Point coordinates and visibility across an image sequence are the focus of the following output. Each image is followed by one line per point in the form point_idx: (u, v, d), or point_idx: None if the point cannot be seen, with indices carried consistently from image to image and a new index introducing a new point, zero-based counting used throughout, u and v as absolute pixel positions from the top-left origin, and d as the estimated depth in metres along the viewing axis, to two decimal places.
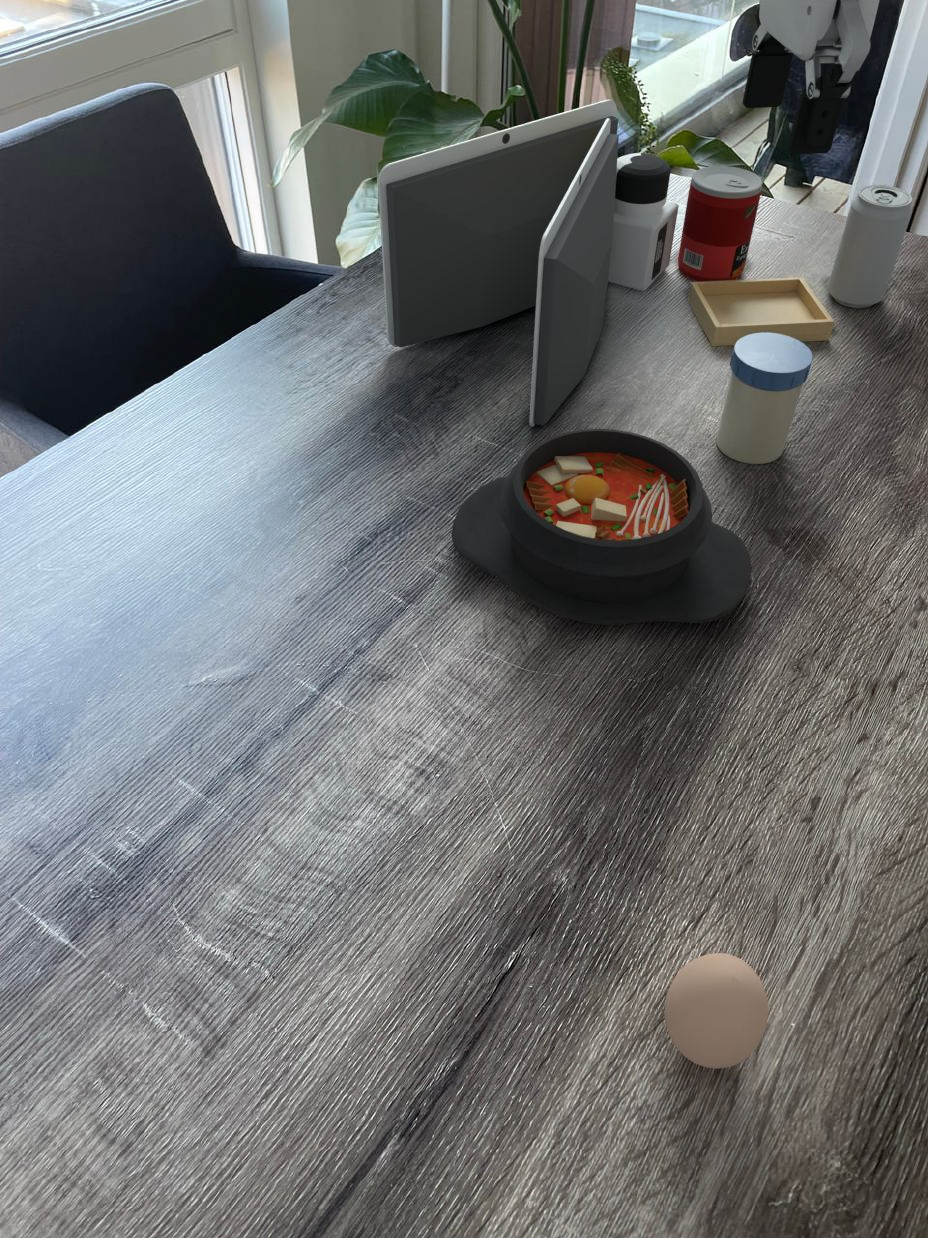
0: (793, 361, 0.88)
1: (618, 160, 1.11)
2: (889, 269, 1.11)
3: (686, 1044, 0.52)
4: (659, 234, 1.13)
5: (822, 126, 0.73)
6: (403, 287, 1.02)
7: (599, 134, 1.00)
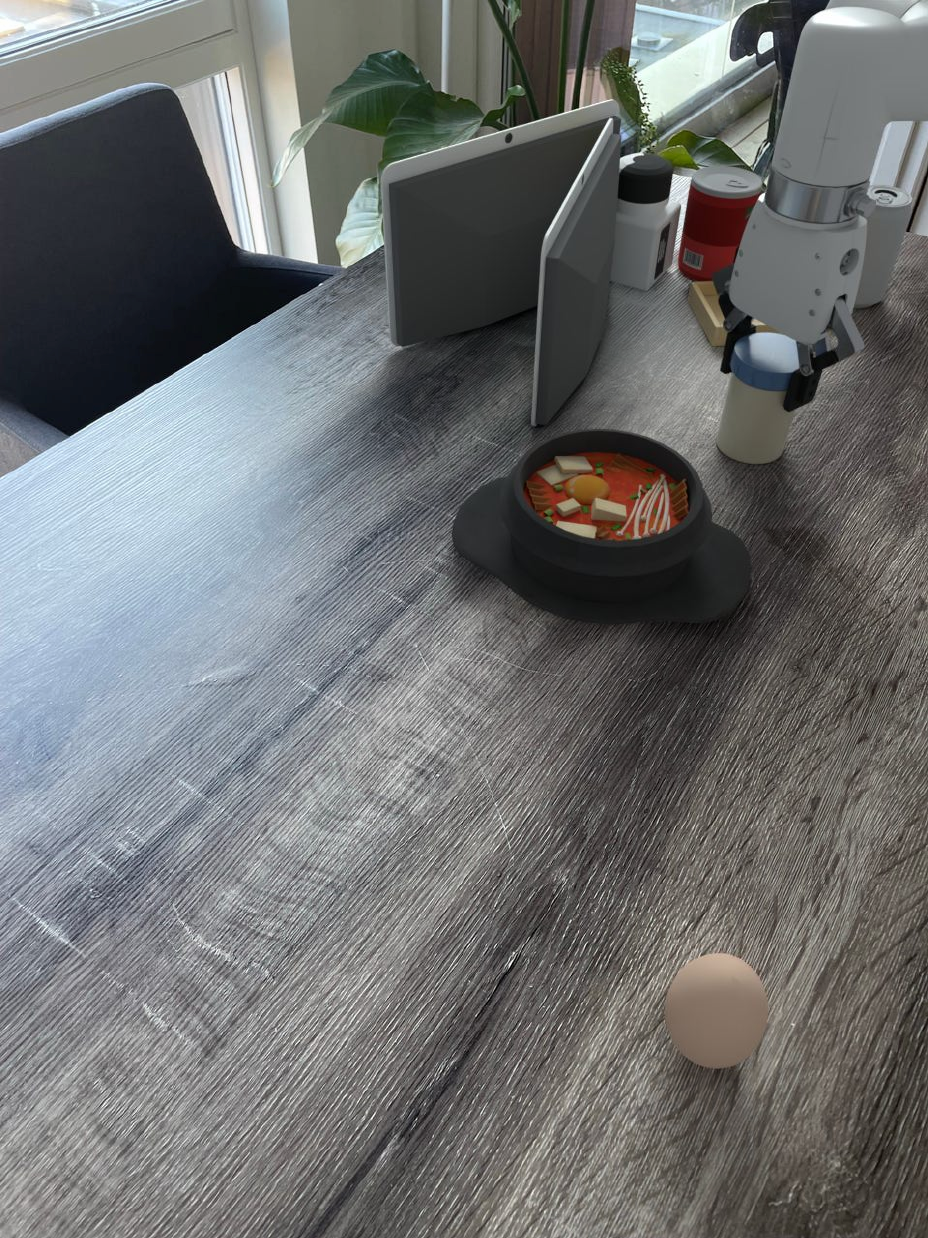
0: (793, 361, 0.88)
1: (621, 160, 1.11)
2: (889, 269, 1.11)
3: (686, 1044, 0.52)
4: (662, 234, 1.13)
5: (811, 390, 0.87)
6: (405, 286, 1.02)
7: (602, 134, 1.00)
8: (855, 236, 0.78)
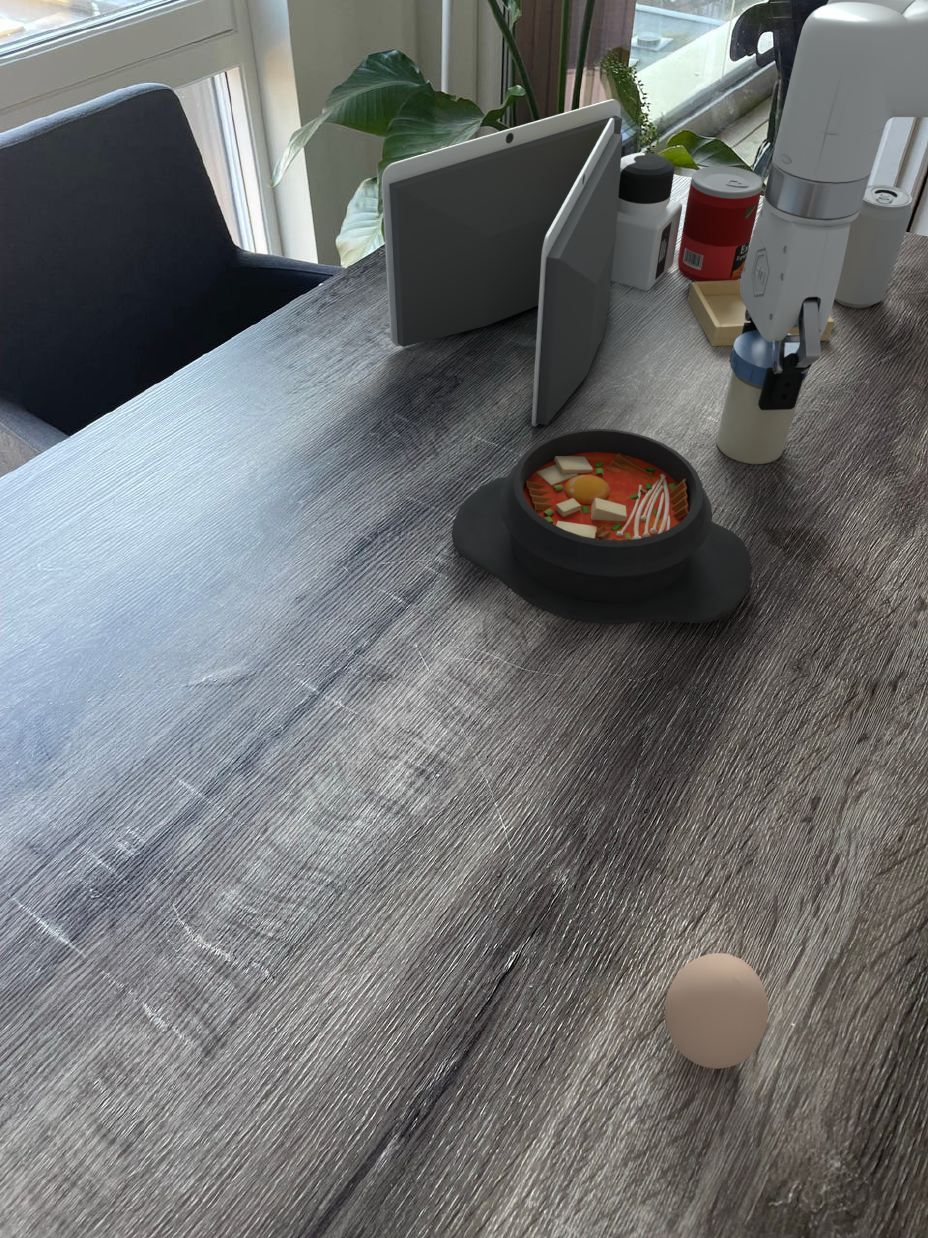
0: None
1: (622, 160, 1.11)
2: (889, 269, 1.11)
3: (686, 1044, 0.52)
4: (663, 233, 1.13)
5: None
6: (406, 286, 1.02)
7: (603, 134, 1.00)
8: None
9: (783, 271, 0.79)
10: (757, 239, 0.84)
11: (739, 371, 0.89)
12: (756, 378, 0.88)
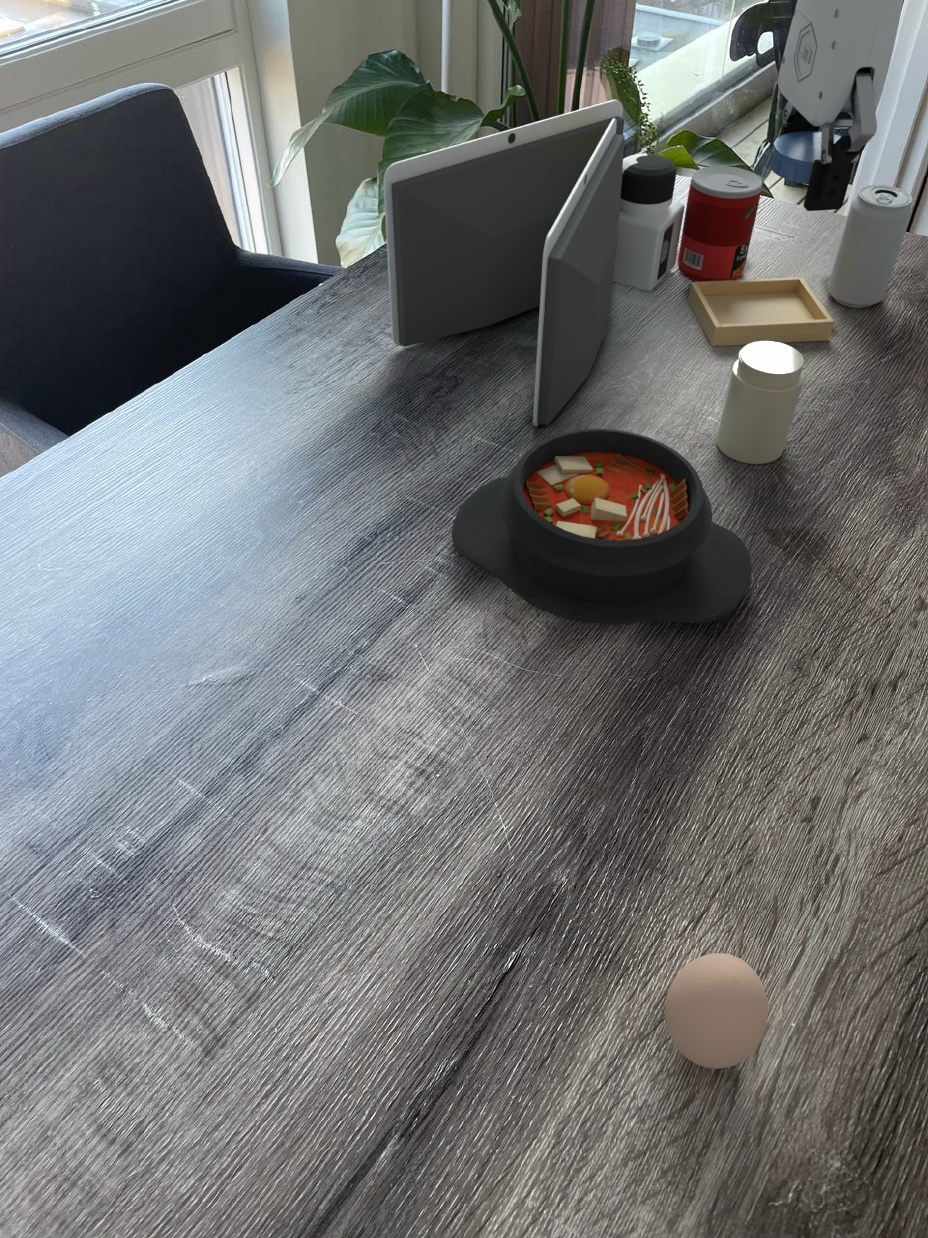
0: (804, 137, 0.85)
1: (624, 160, 1.11)
2: (889, 269, 1.11)
3: (686, 1044, 0.52)
4: (665, 234, 1.13)
5: None
6: (408, 286, 1.02)
7: (605, 134, 1.00)
8: None
9: (835, 38, 0.74)
10: (799, 19, 0.79)
11: (782, 171, 0.83)
12: (801, 175, 0.82)
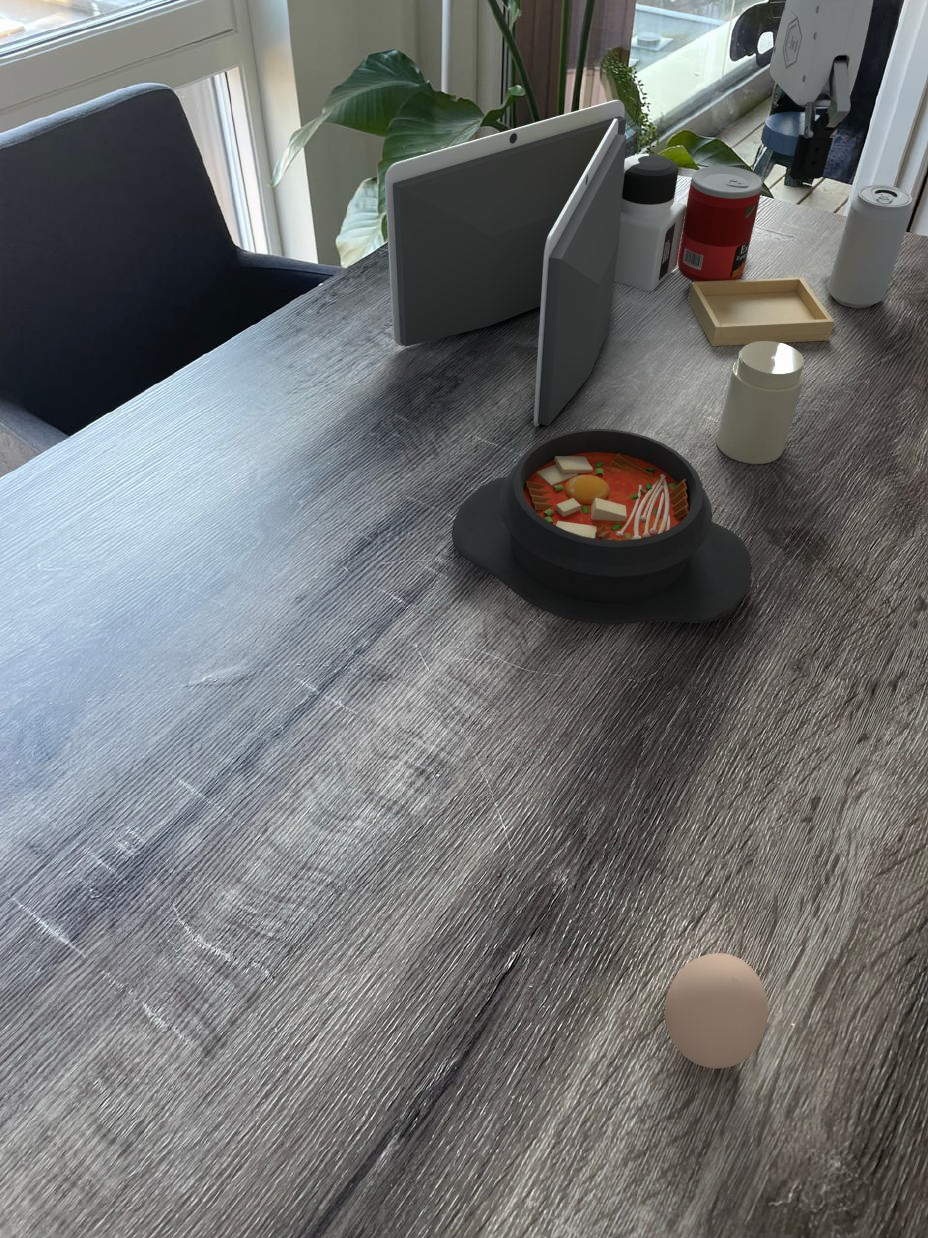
0: (791, 116, 0.99)
1: (626, 160, 1.11)
2: (889, 269, 1.11)
3: (686, 1044, 0.52)
4: (667, 234, 1.13)
5: None
6: (409, 286, 1.02)
7: (606, 134, 1.00)
8: None
9: (816, 30, 0.88)
10: (788, 14, 0.93)
11: (771, 144, 0.97)
12: (787, 148, 0.96)
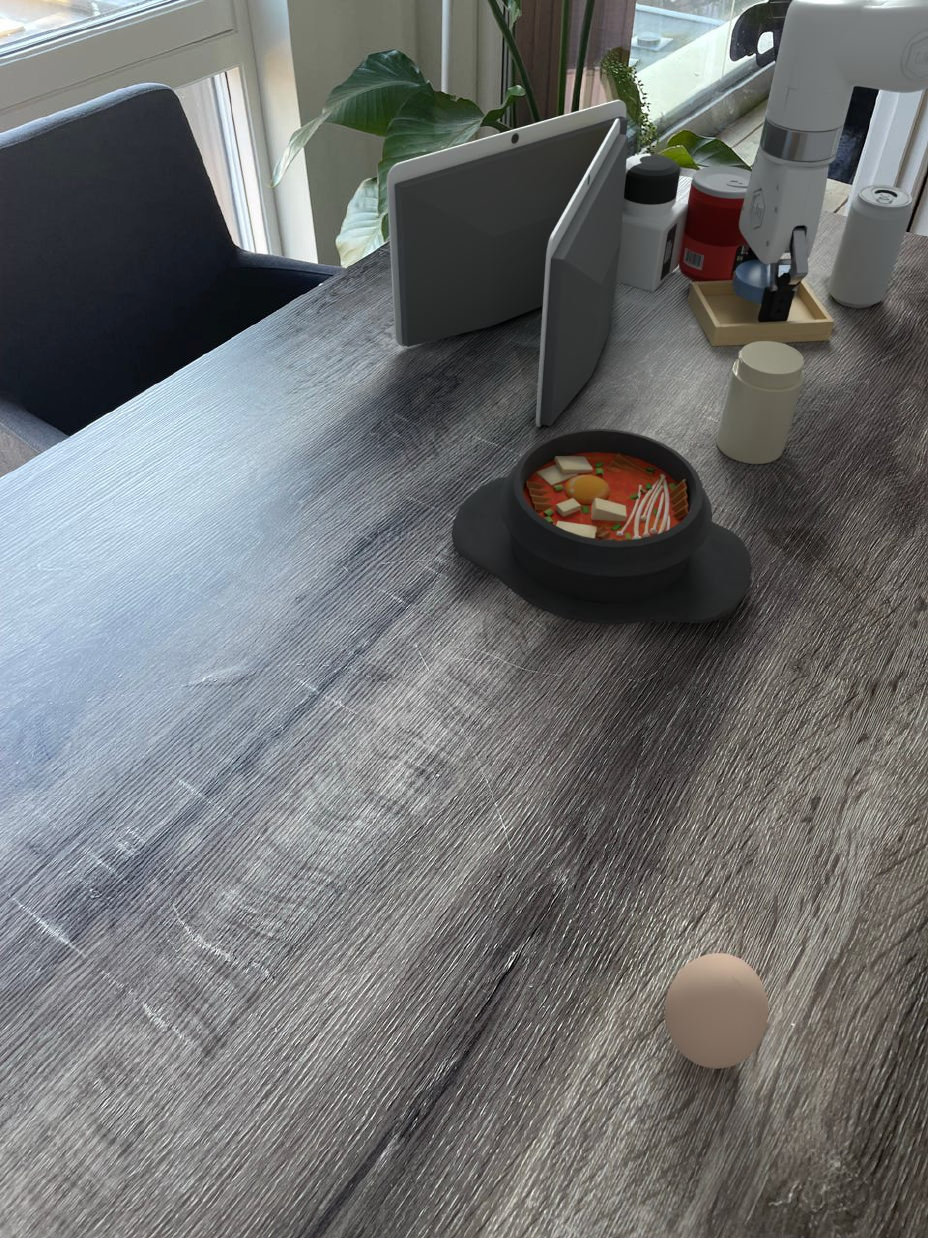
0: (759, 264, 1.10)
1: (627, 160, 1.11)
2: (889, 269, 1.11)
3: (686, 1044, 0.52)
4: (668, 234, 1.13)
5: None
6: (411, 286, 1.02)
7: (608, 134, 1.00)
8: None
9: (777, 205, 0.99)
10: (753, 182, 1.04)
11: (741, 292, 1.09)
12: (755, 297, 1.08)
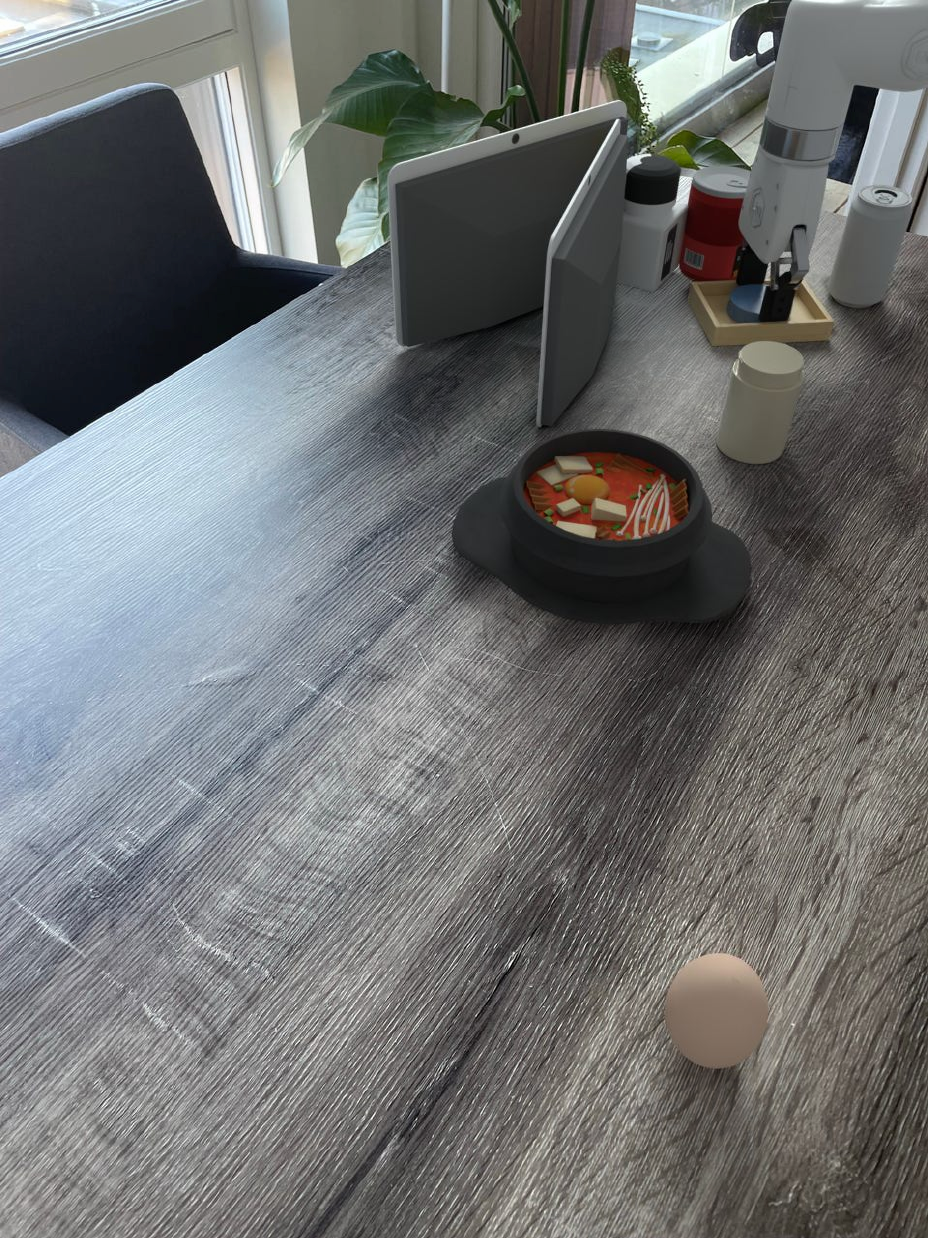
0: (753, 289, 1.12)
1: (628, 161, 1.11)
2: (889, 269, 1.11)
3: (686, 1044, 0.52)
4: (669, 235, 1.13)
5: None
6: (411, 287, 1.02)
7: (609, 135, 1.00)
8: None
9: (776, 204, 0.99)
10: (753, 181, 1.04)
11: (735, 317, 1.11)
12: (749, 322, 1.10)
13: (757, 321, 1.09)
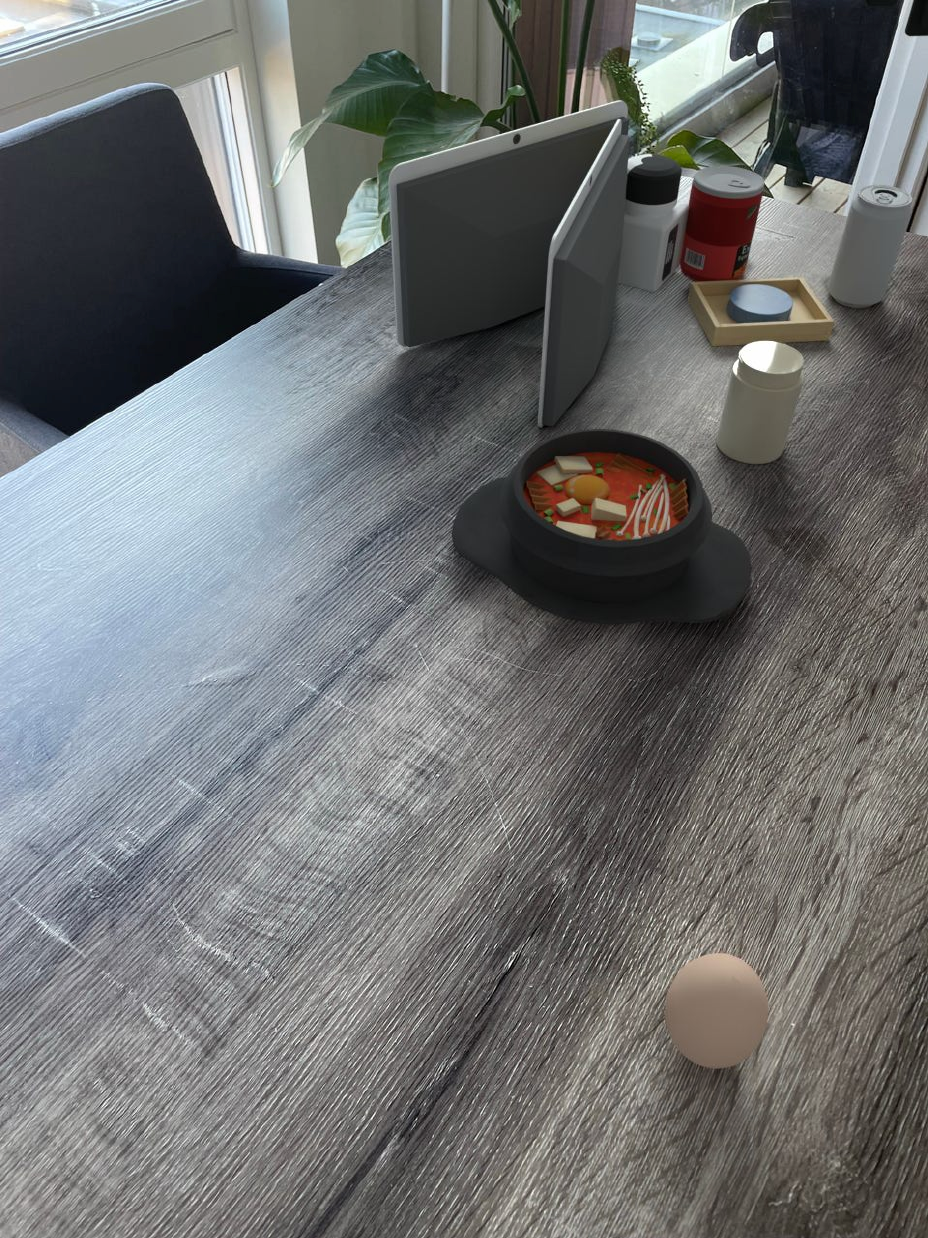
0: (753, 289, 1.12)
1: (629, 161, 1.11)
2: (889, 269, 1.11)
3: (686, 1044, 0.52)
4: (670, 235, 1.13)
5: None
6: (413, 287, 1.02)
7: (610, 135, 1.00)
8: None
9: None
10: None
11: (735, 317, 1.11)
12: (749, 322, 1.10)
13: (757, 321, 1.09)
